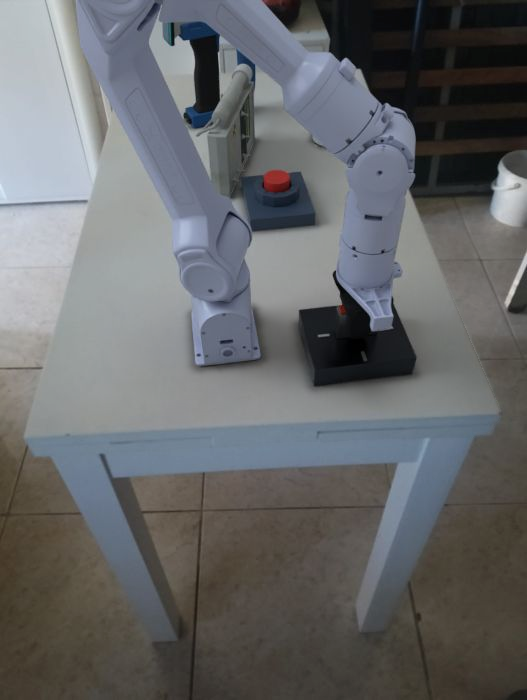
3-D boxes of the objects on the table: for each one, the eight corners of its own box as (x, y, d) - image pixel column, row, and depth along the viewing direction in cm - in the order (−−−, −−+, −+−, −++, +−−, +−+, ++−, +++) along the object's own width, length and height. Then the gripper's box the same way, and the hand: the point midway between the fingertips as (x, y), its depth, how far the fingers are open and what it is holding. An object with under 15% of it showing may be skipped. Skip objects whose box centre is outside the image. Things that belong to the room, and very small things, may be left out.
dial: (374, 325, 69) (378, 299, 66) (377, 334, 68) (382, 308, 65) (333, 330, 69) (336, 304, 66) (336, 339, 68) (339, 313, 65)
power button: (291, 192, 88) (291, 182, 86) (265, 195, 87) (265, 184, 86) (287, 178, 90) (287, 168, 89) (262, 180, 90) (262, 170, 89)
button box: (314, 225, 88) (316, 203, 85) (250, 231, 87) (249, 209, 84) (300, 183, 96) (301, 161, 93) (241, 188, 95) (240, 167, 92)
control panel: (388, 315, 75) (392, 298, 72) (412, 374, 68) (417, 356, 66) (298, 326, 74) (298, 308, 71) (313, 386, 67) (314, 369, 65)
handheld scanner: (173, 121, 111) (158, 10, 96) (248, 104, 116) (245, -5, 101) (180, 131, 109) (167, 19, 94) (257, 114, 113) (256, 3, 98)
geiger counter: (231, 117, 82) (265, 50, 99) (189, 113, 83) (230, 47, 100) (236, 200, 93) (266, 127, 109) (198, 196, 94) (234, 124, 110)
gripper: (432, 279, 54) (407, 371, 64) (387, 193, 63) (372, 285, 73) (358, 287, 53) (345, 379, 63) (325, 200, 63) (318, 292, 73)
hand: (356, 329), depth 68 cm, fingers closed on dial
